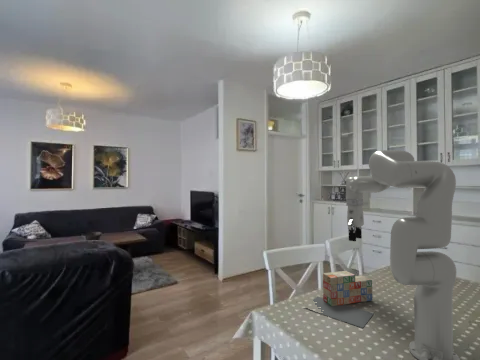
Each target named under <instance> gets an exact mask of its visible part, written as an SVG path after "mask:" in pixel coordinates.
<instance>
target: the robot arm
mask: <svg viewBox="0 0 480 360" xmlns="http://www.w3.org/2000/svg"><path fill="white" fill-rule="evenodd" d="M368 167H369V170H370V175H365V176H364V175H359V176H358V175H357V176H350V177H347V178H346V180H345V189H346V190H345V196H346V197H345V199H346V200H345V201H346V202H345V205H346V206H347V214H346V221H347V222H346V223H347V229H348V231H347V232H348V241H349V242H357V239H362V238H363V237H362V234H363V233H362V229H363V228H362V226H364V225H365V221H364V220H365V219H364V209H363V208H364V194H367V193H371V194H372V193H373V194H374V193H381V192H383V191H385V190H388V189H389V188H390V187H393V188H398V189H399V188H400V189H402V188H403V189H404V188H406V189H408V188H409V189H411V188H413V189H414V188H424V189H425V190H424V191H423V192H422V193H421V195H420V196H419V198H418V201H417V204H416V207H417V209H416V216H409V217H407V216H406V217H400V218H398V219H396V220H395V222H394V223H393V224H392V226H391V230H390V242H389V243H390V249H389V264H390V272H391V274H392V277H393V278H394V280H395V281H396V282H397V283H398V284H401V285H405V286H416V287H415V290H414V292H413V293H414V294H413V309H414V310H413V314H414V315H413V316H414V319H413V320H414V321H413V325H414V340H412V341H410V342H409V344H408V350H409V352H410V353H411V355H412V356H413V357H415V359H417V360H461V358H460V356H459V355H458V354H457V353H456V352H454V331H453V330H454V325H453V323H454V319H453V299H454V298H453V297H454V295H453V294H454V293H453V292H454V287H455V284H456V283H455V282H456V278H457V267H456V264H455V262H454V260H453V259H452V258H451V257H450V256H449V255H448V254H445V253H443V252H440V251H433V250H435V249H442V248H443V249H444V248H446V247H447V246H448V245H450V242H451V240H452V239H451V238H452V225H453V224H452V222H453V221H452V220H453V219H452V218H453V200H454V197H455V196H454V195H455V192H456V185H457V180H456V176H455V173H454V171H453V170H452V168H451V167H450V166H448V165H447V164H445V163H442V162H439V161H432V160H415V157H414V156H413V154H412V153H410V152H409V151H406V150H402V149H401V150H400V149H398V150H396V149H393V150H392V149H391V150H390V149H387V150H386V149H385V150H377V151H375V152H373V153H372V154H371V156H370V157H369V160H368ZM431 249H433V250H431ZM418 250H429V251H418ZM430 250H431V251H430Z"/></svg>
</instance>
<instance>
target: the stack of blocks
mask: <svg viewBox="0 0 480 360" xmlns="http://www.w3.org/2000/svg"><path fill="white" fill-rule="evenodd" d="M322 277H323V278H322V290H323V291H322V292H323V293H322V294H323V295H322V296H323V297H322V298H323V300H324V301H325V302H326V303H328V304H329V305H330V306H336V305H343V304H344V305H349V304H355V303H360V302H361V303H363V302H370V301H373V280H372V279H371V278H368V277H367V276H364V275H356V274H354V273H351V272H349V271H347V270H343V271H333V272H323V274H322Z"/></svg>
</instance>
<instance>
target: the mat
mask: <svg viewBox="0 0 480 360" xmlns="http://www.w3.org/2000/svg"><path fill="white" fill-rule="evenodd" d="M312 300H313V301H314V302H317V303H315V305H317V307H321V308H318V309H321V312H323V313H321V314H320V315H322V314H324V315H323V316H325V315H326V316H325V317H328V316H329V317H328V318H331V317H332V318H331V319H334V318H335V319H334V320H337V319H338V321H339V320H341V321H340V322H342V321H344V322H343V323H345V322H347V323H346V324H348V323H349V324H348V325H351V324H352V325H351V326H354V325H355V327H357V326H358V328H360V327H361V328H360V329H364V328H363V327H365V326H366V325H367V324H368V322H369V321H370V320H371V318H372V317H373V315H374V313H375V312H371V311H367V310H365V309H362V308H357V307H355V306H351V305H349V304H343V305H336V306H330V305H329V304H328V303H326V302H325V301H324V300H323V297H320V296H316V297H315V298H314V299H312ZM322 310H324V311H322Z"/></svg>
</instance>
